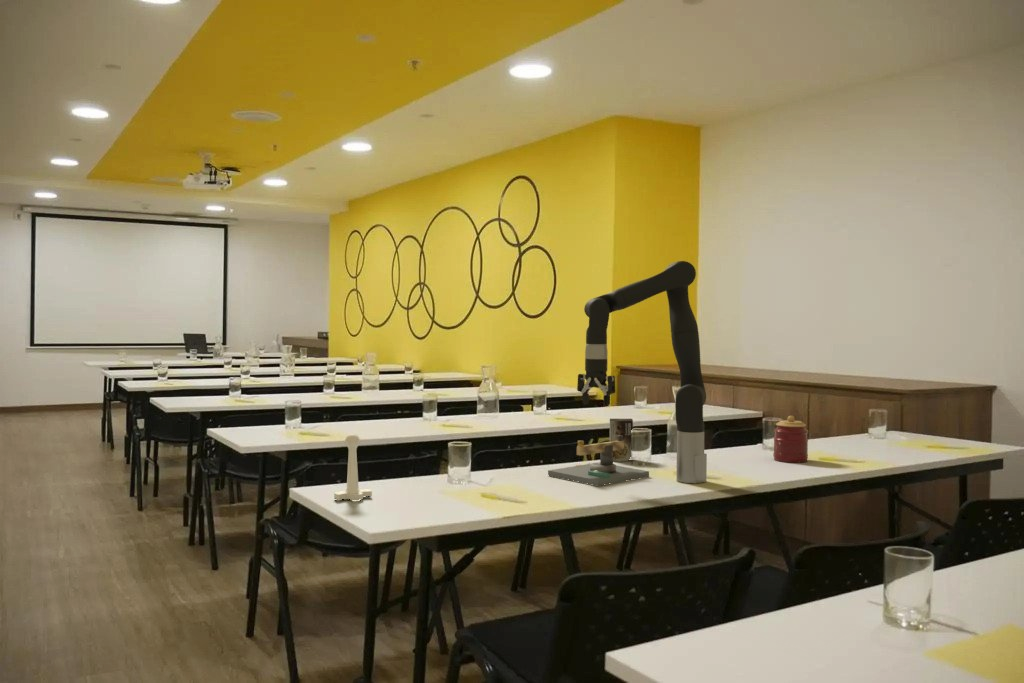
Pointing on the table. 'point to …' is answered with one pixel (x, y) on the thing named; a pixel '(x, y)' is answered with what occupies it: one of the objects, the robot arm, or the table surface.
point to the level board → (598, 474)
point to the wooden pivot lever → (602, 453)
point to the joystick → (352, 473)
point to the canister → (790, 441)
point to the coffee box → (623, 429)
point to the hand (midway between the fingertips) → (595, 405)
